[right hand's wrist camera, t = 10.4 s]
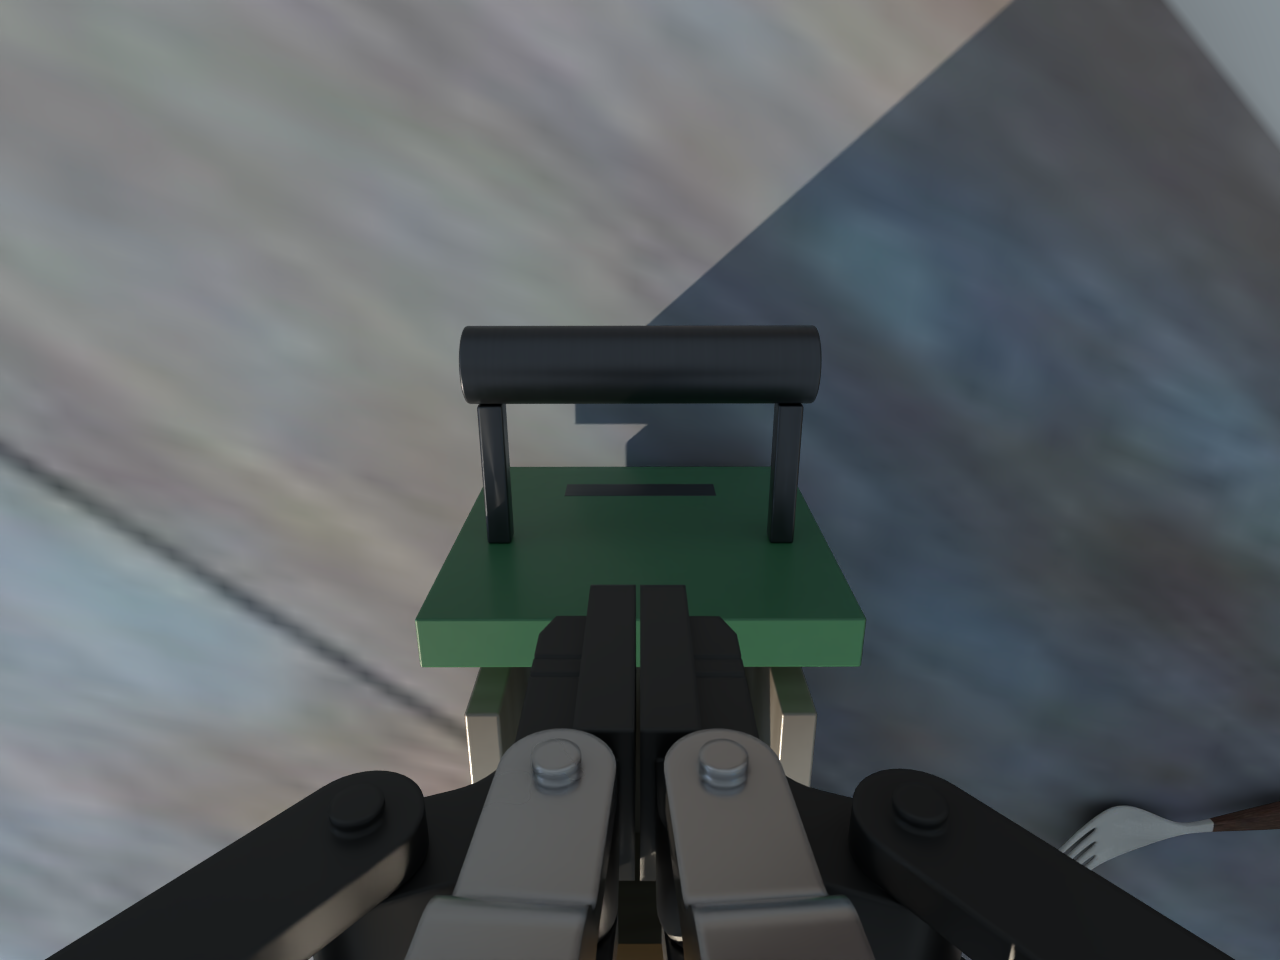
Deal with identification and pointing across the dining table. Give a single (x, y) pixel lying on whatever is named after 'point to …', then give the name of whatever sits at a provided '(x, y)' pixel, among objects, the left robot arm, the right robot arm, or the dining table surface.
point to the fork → (1156, 830)
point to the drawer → (641, 534)
